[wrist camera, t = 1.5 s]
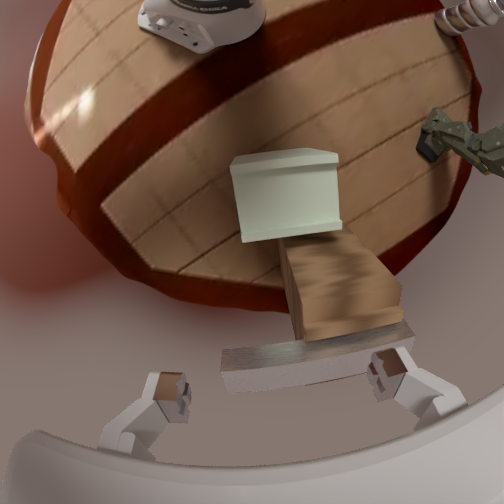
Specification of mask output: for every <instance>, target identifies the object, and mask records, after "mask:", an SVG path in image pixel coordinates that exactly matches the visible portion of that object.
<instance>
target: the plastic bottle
mask: <svg viewBox="0 0 504 504" xmlns="http://www.w3.org/2000/svg"><path fill="white" fill-rule="evenodd" d="M499 16H500V17H502V16H504V4H503V3H502V2H501V1H500V0H466V1H465V2H463V3H461V4H459V5H457V6H455V7H452V8H448V9H442V10H439V11H438V12H437V13H436V14H435V21H436V24H437V25H438V27H439V28H440V29H441V30H442V31H443V32H444V33H445V34H447V35H450V36H458V35H460V34H461V33H463V32H464V31H466V30H468V29H470V28H474V27H480V26H493V25H495V24H496V22H497V20H498V17H499Z"/></svg>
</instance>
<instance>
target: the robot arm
mask: <svg viewBox="0 0 504 504" xmlns="http://www.w3.org/2000/svg"><path fill="white" fill-rule="evenodd" d="M144 13H145V14H144ZM143 14H144V15H143ZM264 18H265V6H264V3H263V1H262V0H144V2H143V4H142V6H141V8H140V11H139V14H138V25H139V27H141V28H143V29H145V30H148V31H150V32H153V33H155V34H157V35H160V36H162V37H164V38H166V39H169V40H171V41H173V42H175V43H177V44H179V45H181V46H183V47H185V48H187V49H189V50H191V51H193V52H195V53H197V54H204V53H206V52H208V51H210V50H212V49H214V48H215V47H218V46H221V45H227V44H232V43H236V42H239V41H241V40H244V39H246V38H248V37H249V36H251V35H252V34H253V33H255V32H256V31H257V30H258V29H259V28H260V26H261V25H262V23H263V21H264ZM195 43H198V45H197V46H193V45H194V44H195ZM370 359H371V361H372V362H371V363H370V364H369V365H368V369H367V376H368V380H369V383H370V384H371V385H373V386H374V390H373V392H374V395H375V397H376V399H377V402H380V401H384V400H387V399H391V398H394V399H395V400H396V401H398V402H399V403H400V404H402V405H403V406H404V407H405V408H407V409H408V410H410V411H411V412H412V413H413V414H415V415H416V416H417V417H419V418H420V420H419V421H418V423H417V424H416V426H415V427H414V432H411V433H409V434H406V435H403V436H400V437H398V438H395V439H392V440H389V441H386V442H383V443H380V444H377V445H373V446H369V447H366V448H362V449H359V450H355V451H351V452H347V453H342V454H338V455H333V456H328V457H323V458H318V459H312V460H305V461H299V462H292V463H282V464H273V465H259V466H195V465H182V464H173V463H164V462H156V458H155V456H154V455H153V454H152V453H151V452H150V451H149V450H148V448H149V447H150V446H151V445H152V443H153V442H154V441H155V440H156V439H157V438H158V437H159V435H160V434H161V433H162V432H163V431H164V430H165V429H166V427H167V426H168V425H169V423H188V418H189V409H188V406H189V405H190V404H191V388H190V386H189V384H188V383H186V376H185V373H177V372H176V373H175V372H154V371H151V372H150V373H149V375H148V379H147V382H146V385H145V388H144V391H143V394H142V398H141V399H137V400H136V401H135V402H134V403H133V404H132V405H130V406H129V407H128V408H127V409H125V410H124V411H123V412H122V413H121V414H119V415H118V416H117V417H116V418H115V419H113V420H112V421H111V422H110V423H109V424H107V425H106V426H105V427H104V429H103V431H102V435H101V437H100V440H99V443H98V446H97V449H94V448H91V447H87V446H84V445H81V444H78V443H74V442H71V441H68V440H66V439H63V438H60V437H57V436H54V435H52V434H50V433H47V432H44V431H42V430H34V431H31V432H30V433H28V434H27V435H25V436H24V437H22V438H21V439H19V440H18V441H17V442H16V443H15V445H14V447H13V449H12V452H11V454H10V458H9V460H8V463H7V466H6V470H5V474H4V477H3V482H2V487H1V492H0V504H504V384H503V385H501V386H500V387H498V388H497V389H496V390H494V391H492V392H491V393H489V394H488V395H486V396H485V397H483V398H481V399H479V400H478V401H476V402H474V403H472V404H471V405H468V404H467V402H466V400H465V399H464V397H463V395H462V394H461V392H460V390H459V389H458V387H456V386H454V385H452V384H450V383H448V382H446V381H444V380H443V379H441V378H439V377H437V376H435V375H433V374H431V373H429V372H427V371H425V370H423V369H422V368H419V369H418V368H417V366H416V364H415V363H414V361H413V360H412V358H411V356H410V355H409V353H408V352H407V350H406V348H405V347H404V346H403V345H401V346H397V347H393V348H388V349H384V350H380V351H376V352H373V353H372V354H371V358H370Z"/></svg>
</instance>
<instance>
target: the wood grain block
mask: <svg viewBox="0 0 504 504" xmlns="http://www.w3.org/2000/svg"><path fill="white" fill-rule="evenodd" d="M277 239H278V247H279V256H280V265H281V274H282V280H283V285H284V289H285V293H286V298H287V302H288V307H289V311H290V316H291V320H292V325H293V329H294V334H295V339H296V341H297V340H303V339H305V340H306V342H308V341H314V340H320V339H325V338H330V337H336V336H341V335H346V334H350V333H355V332H360V331H364V330H369V329H373V328H377V327H381V326H385V325H389V324H393V323H397V322H401V321H402V319H403V313H404V311H403V310H402V308H401V307H400V306H399V301H400V296H401V289H402V285H401V284H400V283H399V282H398V280H397V279H396V278H395V277H394V276H393V275H392V274H391V272H390V271H389V270H388V269H387V268H386V267H385V266H384V265H383V264H382V263H381V262H380V260H379V259H378V258H377V257H376V256H375V255H374V254H373V253H372V252H371V251H370V250H369V249H368V248H367V247H366V246H365V245H364V244H363V243H362V242H361V241H360V240H359V239H358V237H357V236H356V235H355V234H354V233H353V232H352V231H351V230H350V229H349V228H348V227H347V226H346V225H345V224H344V223H342V229H340V230H332V231H325V232H317V233H310V234H303V235H295V236H288V237H281V238H277ZM364 373H367V372H364ZM360 374H363V373H360ZM356 375H359V374H356ZM352 376H355V375H352ZM347 377H351V376H347ZM347 377H343V378H347ZM338 379H342V378H338ZM333 380H337V379H333ZM333 380H328V381H333ZM328 381H323V382H328ZM318 383H322V382H318ZM312 384H317V383H312ZM312 384H307V385H312Z"/></svg>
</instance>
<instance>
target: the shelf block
mask: <svg viewBox="0 0 504 504" xmlns="http://www.w3.org/2000/svg"><path fill="white" fill-rule="evenodd" d="M337 162H339V161H338V154H337V153H333V152H328V151H323V150H318V149H313V148H297V149H287V150H278V151H269V152H262V153H254V154H247V155H241V156H235V158H234V160H233V161H232V163H231V164H230V166H229V167H230V173H231V175H232V180H233V186H234V192H235V198H236V204H237V210H238V216H239V222H240V228H241V238H242V243H245V242H252V241H259V240H266V239H273V238H281V237H288V236H295V235H303V234H310V233H317V232H325V231H332V230H340V229H342V221H341V220H340V219H339V198H338V182H337V169H336V163H337Z"/></svg>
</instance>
